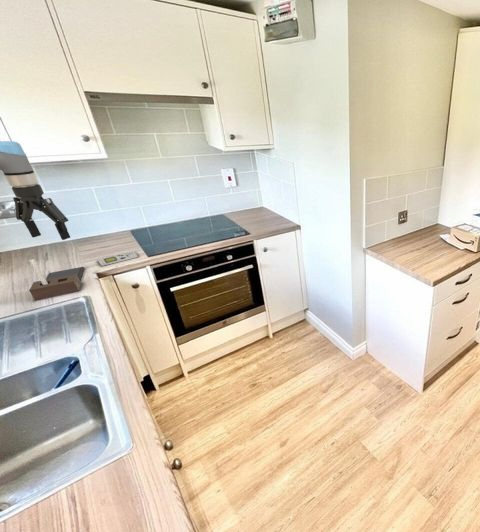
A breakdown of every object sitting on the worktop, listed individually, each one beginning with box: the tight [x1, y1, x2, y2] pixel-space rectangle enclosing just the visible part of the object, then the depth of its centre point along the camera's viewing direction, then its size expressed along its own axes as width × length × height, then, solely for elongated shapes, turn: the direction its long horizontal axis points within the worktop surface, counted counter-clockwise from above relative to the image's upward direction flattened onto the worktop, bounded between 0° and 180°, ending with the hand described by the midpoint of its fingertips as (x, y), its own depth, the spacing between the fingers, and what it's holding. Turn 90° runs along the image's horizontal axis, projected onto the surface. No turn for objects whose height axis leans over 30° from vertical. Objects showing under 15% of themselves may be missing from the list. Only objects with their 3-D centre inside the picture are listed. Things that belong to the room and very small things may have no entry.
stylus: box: [28, 258, 48, 285], centre depth 133 cm, size 2×2×16 cm
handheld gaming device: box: [97, 251, 139, 267], centre depth 166 cm, size 9×1×15 cm
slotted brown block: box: [28, 274, 82, 301], centre depth 136 cm, size 8×13×5 cm, turn 126°
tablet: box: [45, 266, 85, 281], centre depth 147 cm, size 12×16×1 cm
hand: (51, 237), depth 131 cm, fingers open, 13 cm apart
